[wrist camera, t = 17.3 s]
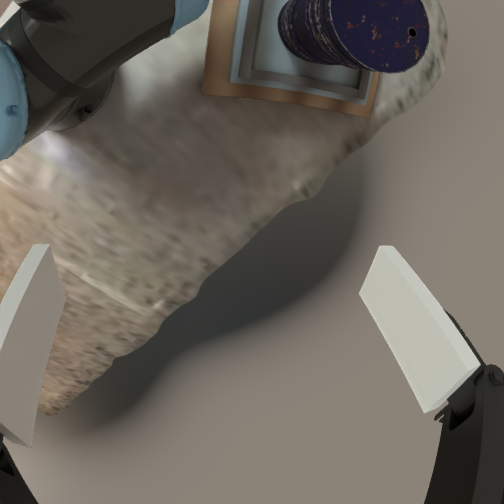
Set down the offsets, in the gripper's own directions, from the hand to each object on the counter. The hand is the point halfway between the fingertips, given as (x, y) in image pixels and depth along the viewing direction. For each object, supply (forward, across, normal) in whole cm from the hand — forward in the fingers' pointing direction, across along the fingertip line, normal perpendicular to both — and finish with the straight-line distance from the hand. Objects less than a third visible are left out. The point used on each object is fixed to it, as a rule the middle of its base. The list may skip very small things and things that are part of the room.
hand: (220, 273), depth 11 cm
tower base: (+35, +12, +14) cm, 39 cm away
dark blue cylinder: (+28, +12, +14) cm, 33 cm away
